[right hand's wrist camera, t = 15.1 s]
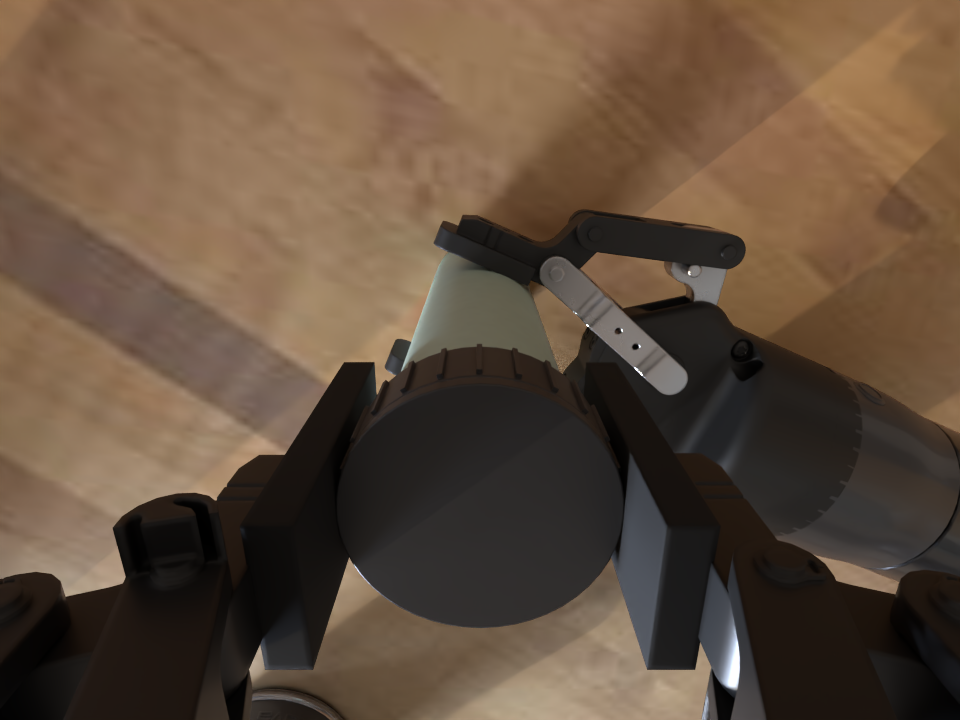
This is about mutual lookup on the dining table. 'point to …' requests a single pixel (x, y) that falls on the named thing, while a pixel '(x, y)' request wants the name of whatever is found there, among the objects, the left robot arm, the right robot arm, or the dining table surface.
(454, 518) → the lid
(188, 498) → the right robot arm
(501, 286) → the bottle
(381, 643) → the dining table surface
